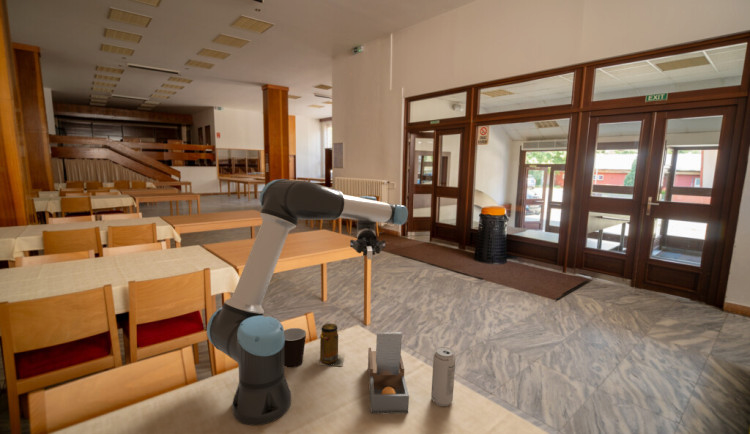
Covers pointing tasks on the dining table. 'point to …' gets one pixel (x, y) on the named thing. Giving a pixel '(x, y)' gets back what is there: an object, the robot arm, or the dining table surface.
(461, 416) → the dining table surface
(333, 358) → the condiment
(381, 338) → the gray rectangular panel
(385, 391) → the ball
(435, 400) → the energy drink can
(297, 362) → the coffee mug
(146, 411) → the dining table surface
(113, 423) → the dining table surface
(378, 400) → the grey open box
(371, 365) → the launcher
